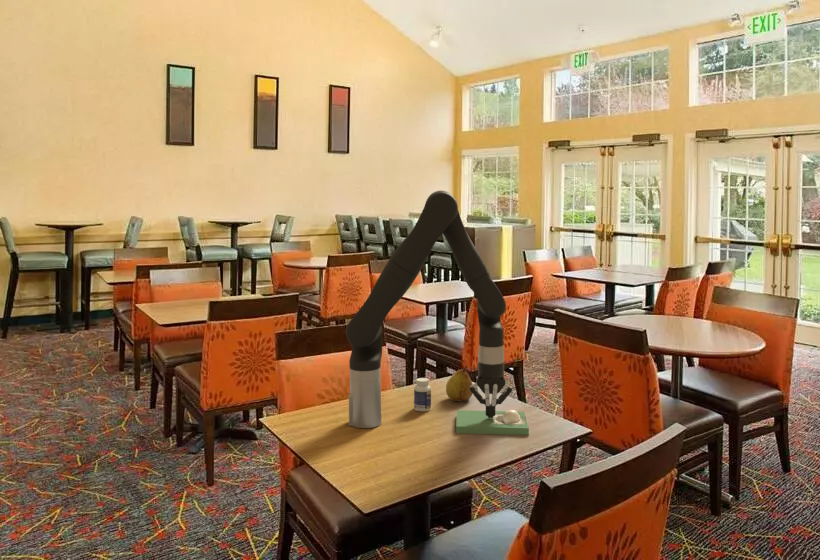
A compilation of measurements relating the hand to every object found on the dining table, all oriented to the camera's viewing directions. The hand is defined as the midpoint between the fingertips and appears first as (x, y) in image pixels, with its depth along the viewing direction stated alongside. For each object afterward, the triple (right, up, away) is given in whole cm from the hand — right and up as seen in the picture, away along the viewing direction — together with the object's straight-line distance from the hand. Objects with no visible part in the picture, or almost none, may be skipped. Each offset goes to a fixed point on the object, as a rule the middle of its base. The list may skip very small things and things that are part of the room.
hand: (490, 417), depth 186 cm
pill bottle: (-20, -1, +15) cm, 25 cm away
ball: (+6, 0, -1) cm, 6 cm away
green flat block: (0, -3, 0) cm, 2 cm away
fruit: (-7, 0, +24) cm, 25 cm away
